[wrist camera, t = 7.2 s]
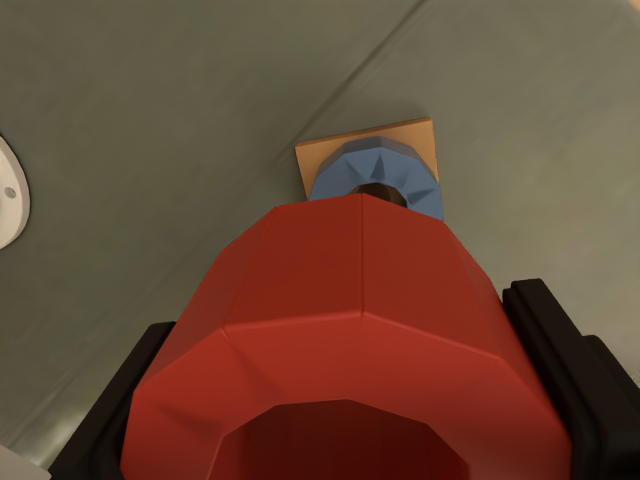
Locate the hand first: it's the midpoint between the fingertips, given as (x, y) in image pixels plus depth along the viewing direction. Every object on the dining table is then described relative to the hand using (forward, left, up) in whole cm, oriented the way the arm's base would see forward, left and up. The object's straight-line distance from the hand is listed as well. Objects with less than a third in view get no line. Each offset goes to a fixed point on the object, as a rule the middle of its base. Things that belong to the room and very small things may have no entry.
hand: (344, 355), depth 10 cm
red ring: (0, 0, -1) cm, 1 cm away
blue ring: (+2, -3, -20) cm, 21 cm away
